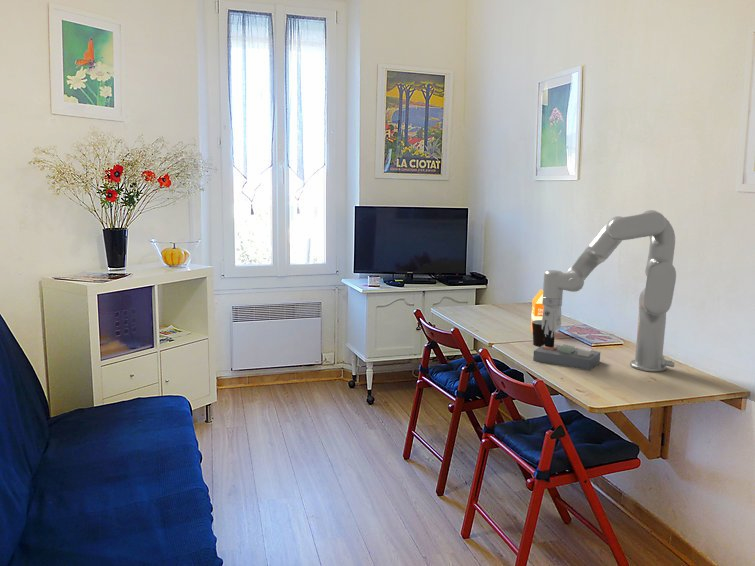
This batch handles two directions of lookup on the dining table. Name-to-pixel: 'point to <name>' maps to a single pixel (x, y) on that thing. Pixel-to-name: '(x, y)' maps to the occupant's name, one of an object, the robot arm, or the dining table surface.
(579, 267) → the robot arm
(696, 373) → the dining table surface
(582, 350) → the key cream
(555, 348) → the key terracotta
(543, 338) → the coffee mug
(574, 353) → the grey button panel
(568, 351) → the key sage
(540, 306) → the orange juice
